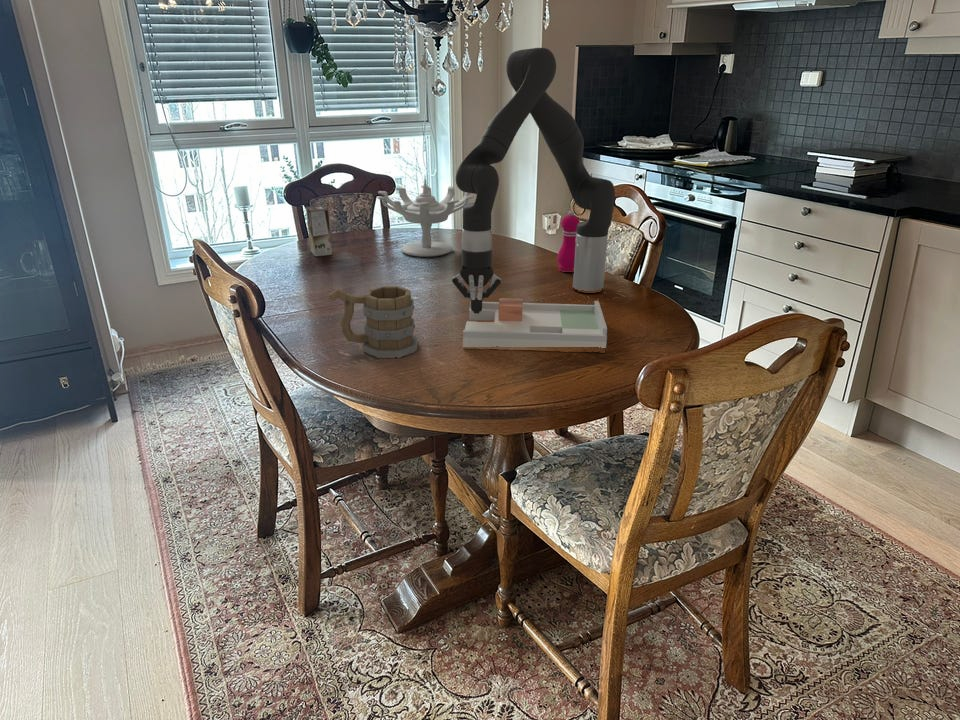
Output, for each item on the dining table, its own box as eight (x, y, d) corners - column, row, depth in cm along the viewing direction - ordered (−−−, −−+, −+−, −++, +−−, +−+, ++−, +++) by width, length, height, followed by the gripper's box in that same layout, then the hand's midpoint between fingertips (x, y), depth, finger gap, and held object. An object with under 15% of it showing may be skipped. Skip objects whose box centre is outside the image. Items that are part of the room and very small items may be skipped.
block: (499, 312, 172) (499, 298, 171) (522, 313, 172) (522, 298, 170) (498, 320, 167) (498, 305, 165) (521, 321, 167) (522, 306, 165)
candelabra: (383, 267, 221) (378, 184, 210) (377, 242, 252) (373, 169, 241) (482, 262, 227) (482, 182, 216) (464, 238, 259) (464, 167, 247)
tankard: (418, 337, 164) (416, 280, 158) (415, 358, 152) (413, 297, 146) (338, 338, 163) (333, 280, 157) (329, 359, 152) (323, 297, 146)
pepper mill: (561, 274, 215) (565, 213, 207) (553, 268, 221) (556, 208, 213) (581, 273, 217) (586, 212, 208) (573, 267, 223) (577, 207, 215)
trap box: (470, 317, 178) (470, 296, 175) (596, 320, 176) (598, 299, 173) (462, 349, 158) (462, 325, 155) (605, 353, 156) (607, 330, 153)
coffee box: (332, 254, 235) (328, 209, 228) (314, 256, 232) (310, 211, 226) (326, 248, 242) (322, 205, 236) (309, 250, 240) (304, 206, 233)
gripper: (504, 243, 166) (502, 308, 173) (451, 242, 166) (452, 306, 173) (503, 251, 159) (501, 318, 166) (448, 250, 159) (449, 316, 167)
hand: (476, 312), depth 170 cm, fingers closed
